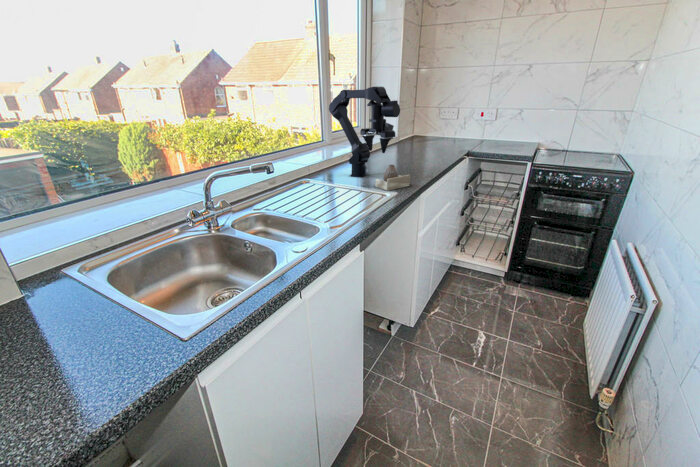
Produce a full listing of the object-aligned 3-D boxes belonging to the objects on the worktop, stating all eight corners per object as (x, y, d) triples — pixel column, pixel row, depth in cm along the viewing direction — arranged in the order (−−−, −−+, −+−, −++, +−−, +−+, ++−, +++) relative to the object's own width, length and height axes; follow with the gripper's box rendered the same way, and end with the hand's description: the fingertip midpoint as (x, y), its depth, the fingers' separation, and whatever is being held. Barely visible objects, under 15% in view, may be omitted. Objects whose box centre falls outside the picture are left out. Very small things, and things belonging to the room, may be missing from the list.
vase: (382, 185, 147) (382, 166, 143) (384, 181, 153) (385, 163, 149) (397, 186, 145) (398, 167, 142) (399, 182, 151) (400, 163, 148)
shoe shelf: (375, 186, 147) (375, 175, 145) (396, 181, 155) (397, 171, 153) (388, 190, 141) (388, 179, 139) (409, 185, 148) (410, 174, 146)
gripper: (404, 116, 146) (403, 152, 152) (377, 115, 160) (377, 147, 166) (386, 118, 140) (385, 155, 146) (359, 116, 154) (359, 150, 160)
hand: (377, 151), depth 155 cm, fingers open, 9 cm apart
